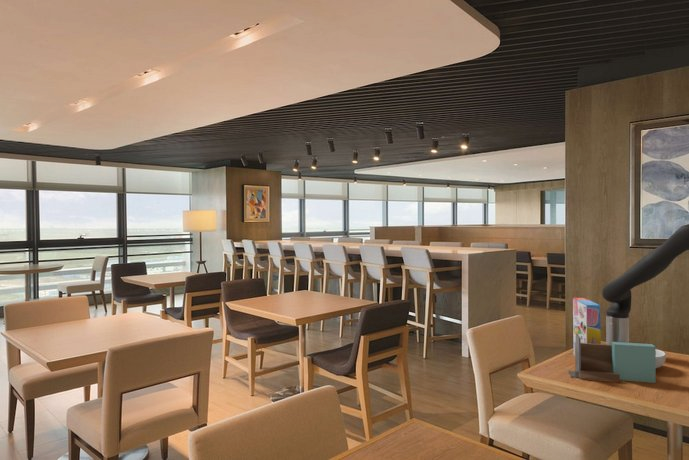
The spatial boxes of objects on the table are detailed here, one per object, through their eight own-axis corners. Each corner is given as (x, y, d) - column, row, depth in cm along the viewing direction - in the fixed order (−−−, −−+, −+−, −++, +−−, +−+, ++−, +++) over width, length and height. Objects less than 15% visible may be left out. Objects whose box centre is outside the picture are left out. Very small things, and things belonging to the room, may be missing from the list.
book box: (611, 376, 185) (611, 341, 185) (652, 379, 181) (652, 344, 180) (614, 379, 181) (614, 344, 181) (655, 382, 177) (655, 346, 177)
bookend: (568, 371, 191) (567, 333, 191) (577, 372, 190) (577, 333, 190) (570, 377, 184) (570, 337, 184) (580, 377, 183) (580, 338, 183)
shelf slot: (575, 371, 192) (575, 342, 191) (612, 374, 187) (612, 344, 187) (579, 378, 182) (579, 348, 182) (619, 382, 178) (619, 351, 178)
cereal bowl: (618, 359, 207) (618, 343, 207) (662, 364, 199) (662, 348, 199) (620, 370, 192) (620, 353, 192) (668, 376, 184) (668, 358, 184)
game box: (601, 369, 193) (601, 305, 193) (587, 369, 194) (586, 305, 194) (585, 355, 213) (585, 297, 213) (572, 355, 215) (572, 297, 214)
